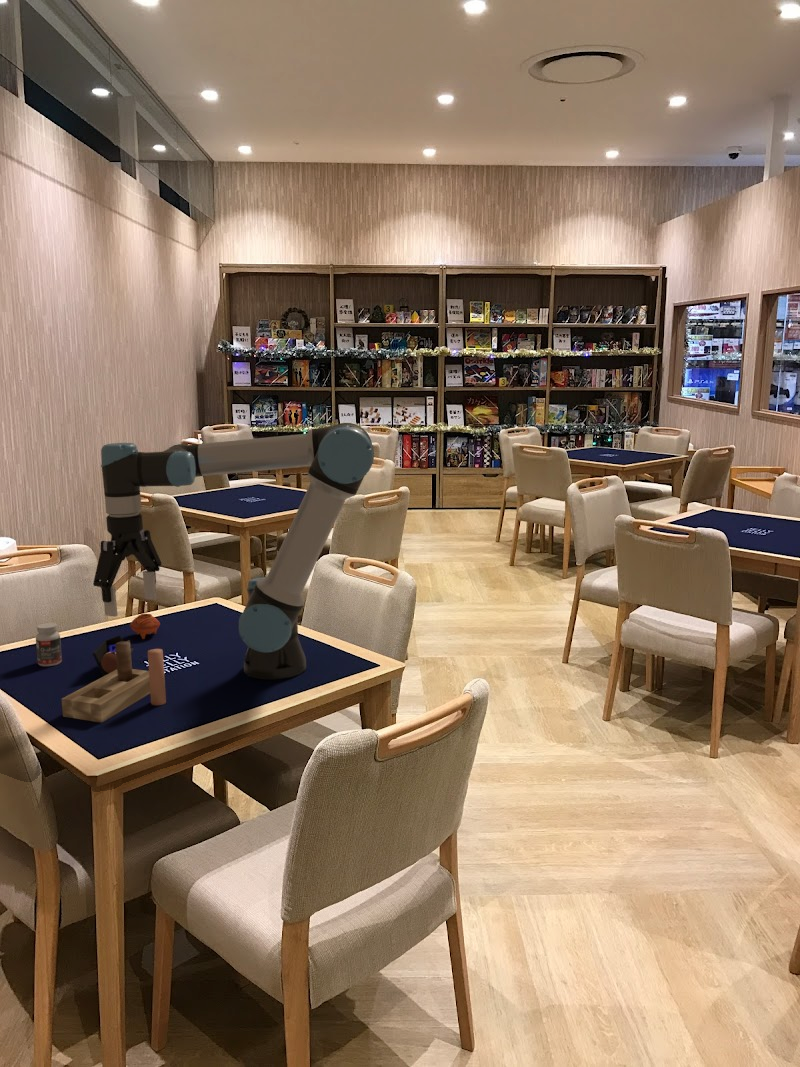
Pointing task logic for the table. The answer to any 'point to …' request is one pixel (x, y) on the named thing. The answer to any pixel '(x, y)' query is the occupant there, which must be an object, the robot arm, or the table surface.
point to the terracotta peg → (156, 676)
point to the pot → (145, 624)
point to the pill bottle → (48, 645)
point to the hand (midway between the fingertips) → (131, 607)
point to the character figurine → (107, 655)
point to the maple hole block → (106, 696)
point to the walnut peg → (124, 661)
